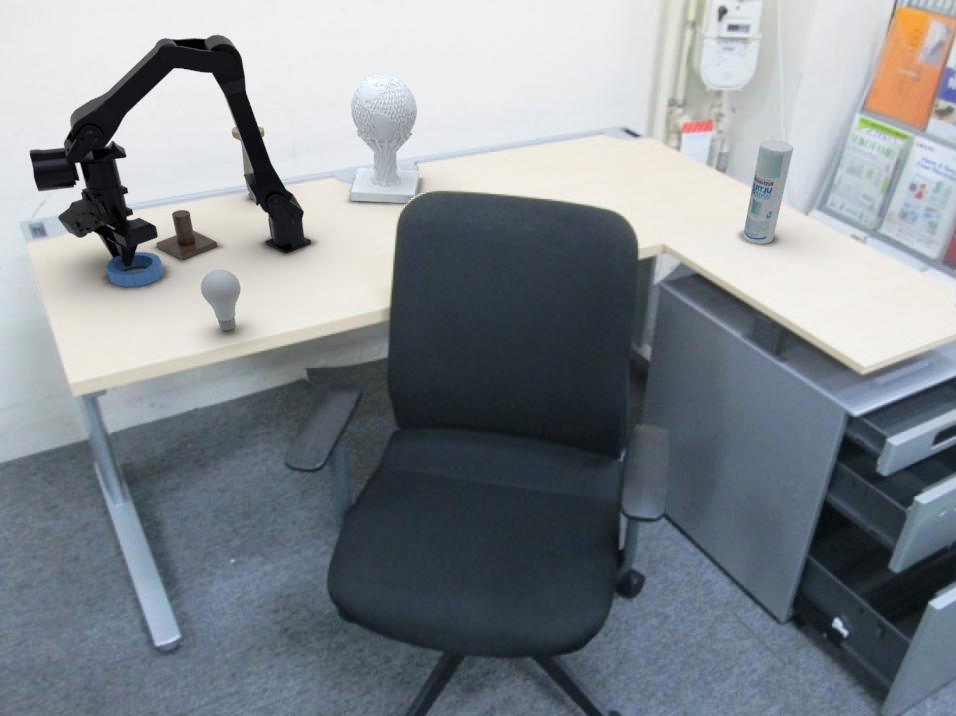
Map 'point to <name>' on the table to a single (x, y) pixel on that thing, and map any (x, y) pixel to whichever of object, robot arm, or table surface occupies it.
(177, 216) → the peg stand
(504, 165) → the table surface
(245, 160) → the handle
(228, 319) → the lightbulb
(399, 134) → the trophy
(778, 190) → the spray can
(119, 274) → the tape
